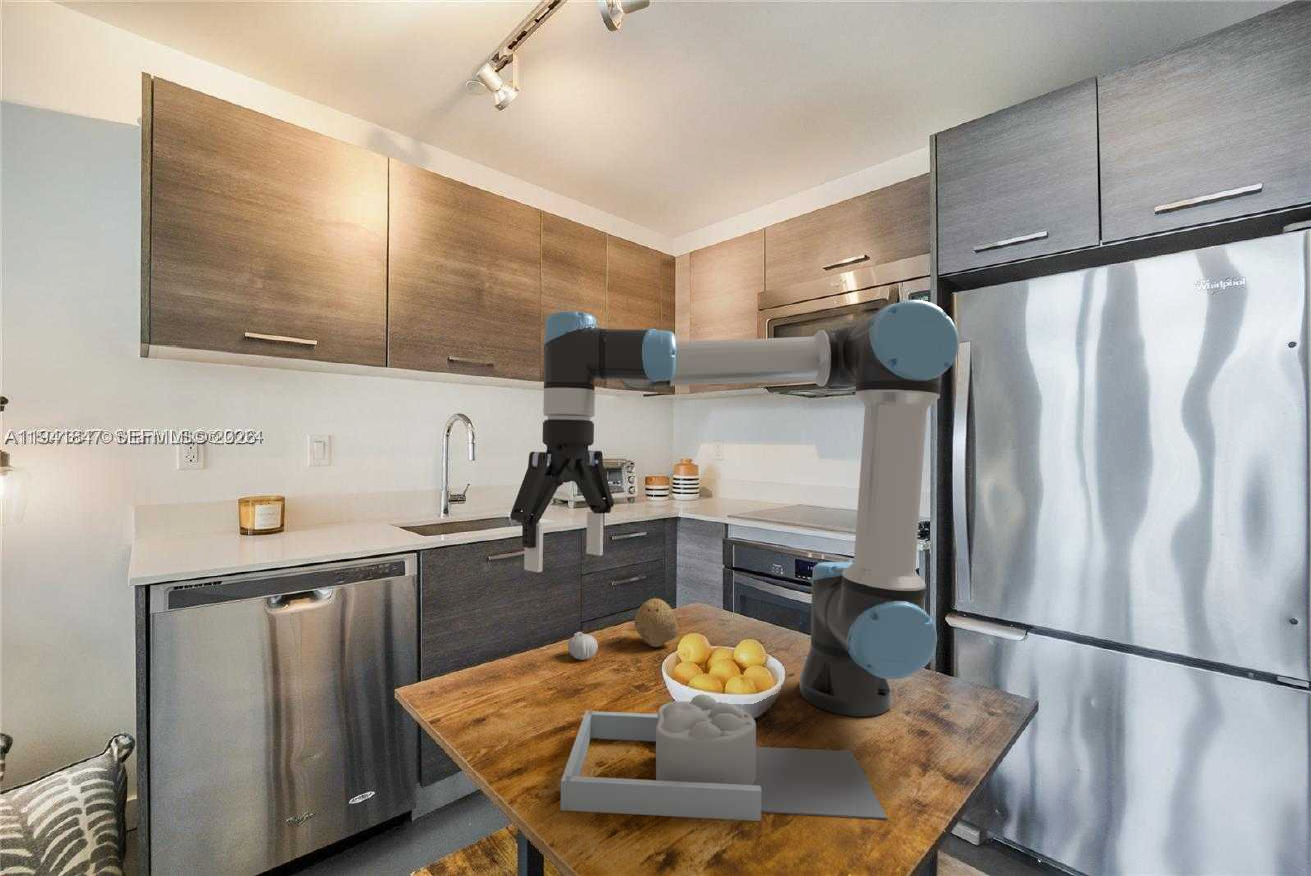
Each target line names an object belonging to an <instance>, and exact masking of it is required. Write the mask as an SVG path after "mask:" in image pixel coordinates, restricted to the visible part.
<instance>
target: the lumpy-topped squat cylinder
mask: <svg viewBox="0 0 1311 876" xmlns="http://www.w3.org/2000/svg"><path fill="white" fill-rule="evenodd" d="M657 714H658V724H657V727H656V741H655V780H659V781H678V782H698V783H718V784H737V785H753V783H754V782H755V780H756V747H757V722H756V720H755V718H754V717H753V716H752V715H750V714H749V713H748V712H746V711H744V710H743V709H741V708H738V707H736V706H735V705H733V704H730V703H727V702H721V701H719V702H717V701H716V700H715V699H714V697H711V696H710V695H708V694H704V693H703V694H702V693H701V694H698V695H695V696H694V697H693V698H692V699H691V700H689V701H683V700H682V701H671V702H667V703H665V704H662V705H661V706H659V708H658V710H657Z"/></svg>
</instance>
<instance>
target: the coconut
mask: <svg viewBox="0 0 1311 876" xmlns="http://www.w3.org/2000/svg"><path fill="white" fill-rule="evenodd" d="M678 623H679V622H678V621H677V619H676V616H675V614H674V611H673V609H672V607H671V606H670V604H668V603H667V602H666V601H664V600H663V599H661V598H657V597H656V598H650V599H648V600H646V601H644V602H643V604H641V606H640V607H639V608H638V609H637V611H636V614H635V618H634V627H635V629H636V631H637V633H638V634H639V636H640V637H641V638H642V639H643V641H644V642H645V643H646V644H647V645H649V646H650V647H652V648H660V647H662V646H664V645H665V643H667V642H670V641H672V640H674V639H675V638H676V637H677V636H678V634H679V624H678Z"/></svg>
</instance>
